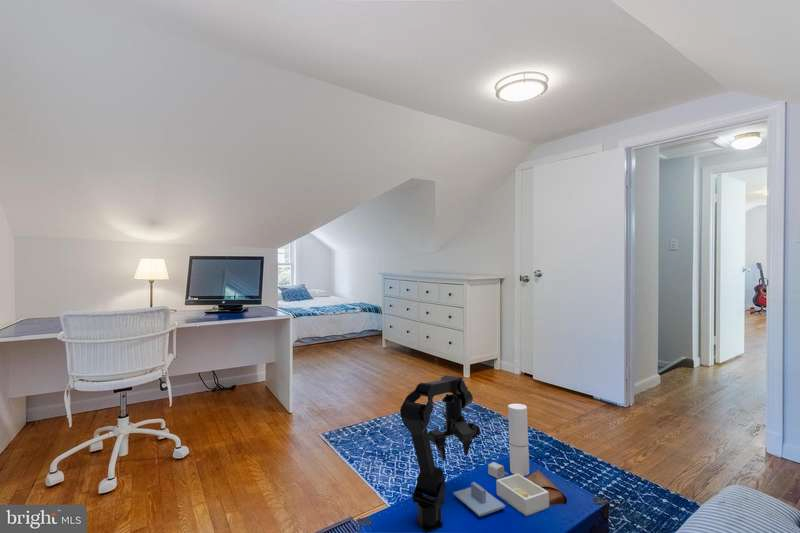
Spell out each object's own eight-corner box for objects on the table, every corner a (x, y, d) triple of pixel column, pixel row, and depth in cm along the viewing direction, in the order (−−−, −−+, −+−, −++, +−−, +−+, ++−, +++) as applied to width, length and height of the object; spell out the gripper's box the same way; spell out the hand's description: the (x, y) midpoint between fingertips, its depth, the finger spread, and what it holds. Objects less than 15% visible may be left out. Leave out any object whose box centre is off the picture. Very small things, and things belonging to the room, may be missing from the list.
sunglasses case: (518, 479, 143) (526, 462, 143) (534, 487, 143) (541, 471, 144) (544, 506, 125) (553, 487, 126) (561, 515, 126) (570, 496, 127)
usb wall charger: (495, 471, 149) (494, 461, 149) (509, 478, 143) (509, 468, 144) (488, 475, 147) (488, 464, 147) (502, 482, 141) (502, 471, 141)
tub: (526, 516, 120) (525, 499, 120) (496, 494, 133) (496, 480, 133) (549, 507, 124) (548, 491, 125) (518, 487, 137) (518, 473, 137)
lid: (479, 520, 118) (478, 501, 119) (453, 497, 131) (453, 480, 132) (505, 511, 123) (504, 492, 123) (478, 490, 136) (477, 473, 136)
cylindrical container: (527, 467, 152) (524, 403, 153) (531, 476, 145) (528, 409, 146) (508, 466, 153) (506, 403, 154) (512, 475, 146) (509, 409, 147)
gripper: (443, 424, 123) (444, 474, 122) (489, 414, 131) (491, 461, 130) (426, 414, 133) (427, 460, 132) (470, 405, 141) (471, 449, 140)
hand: (454, 457), depth 133 cm, fingers open, 9 cm apart
